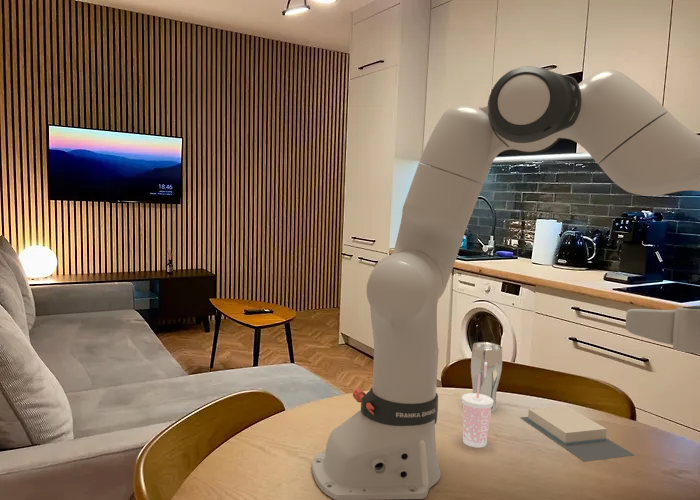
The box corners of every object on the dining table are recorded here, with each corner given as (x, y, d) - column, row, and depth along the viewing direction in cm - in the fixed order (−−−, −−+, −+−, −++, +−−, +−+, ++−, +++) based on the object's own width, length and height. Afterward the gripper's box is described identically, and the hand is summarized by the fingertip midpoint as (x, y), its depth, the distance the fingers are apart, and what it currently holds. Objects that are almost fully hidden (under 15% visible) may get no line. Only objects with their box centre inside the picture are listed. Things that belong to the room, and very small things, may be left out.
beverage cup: (466, 450, 100) (471, 379, 98) (454, 436, 106) (458, 369, 104) (495, 448, 101) (501, 379, 100) (481, 434, 107) (486, 368, 106)
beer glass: (502, 415, 117) (507, 350, 116) (471, 413, 117) (476, 349, 116) (494, 403, 124) (498, 342, 123) (465, 402, 124) (469, 341, 123)
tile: (565, 433, 103) (528, 409, 114) (564, 445, 103) (527, 420, 114) (606, 428, 106) (566, 405, 117) (605, 440, 106) (565, 416, 117)
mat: (583, 463, 96) (583, 461, 96) (519, 419, 116) (519, 417, 115) (634, 457, 100) (635, 455, 100) (564, 415, 119) (564, 413, 119)
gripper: (770, 311, 82) (687, 299, 95) (677, 308, 74) (601, 296, 87) (767, 350, 82) (684, 334, 95) (674, 351, 75) (598, 333, 88)
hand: (643, 316), depth 91 cm, fingers closed
